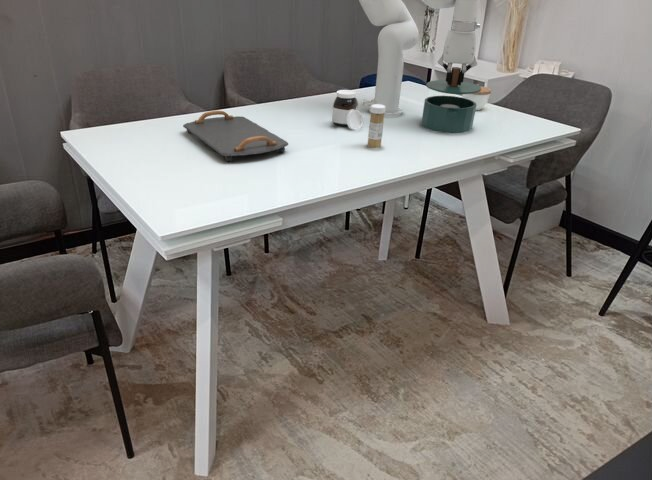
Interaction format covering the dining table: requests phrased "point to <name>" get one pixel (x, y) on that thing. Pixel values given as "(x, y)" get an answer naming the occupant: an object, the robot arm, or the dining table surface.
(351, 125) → the spread jar
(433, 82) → the tin lid
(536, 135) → the dining table surface
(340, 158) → the dining table surface
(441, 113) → the tin
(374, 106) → the sprinkles bottle
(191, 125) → the serving tray
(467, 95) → the white lidded jar
